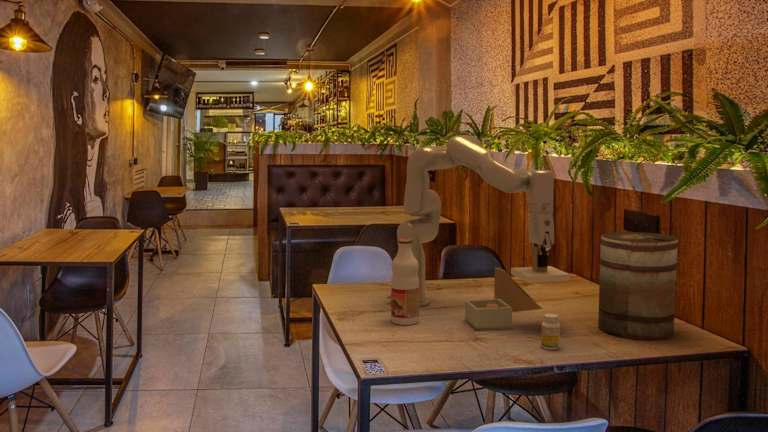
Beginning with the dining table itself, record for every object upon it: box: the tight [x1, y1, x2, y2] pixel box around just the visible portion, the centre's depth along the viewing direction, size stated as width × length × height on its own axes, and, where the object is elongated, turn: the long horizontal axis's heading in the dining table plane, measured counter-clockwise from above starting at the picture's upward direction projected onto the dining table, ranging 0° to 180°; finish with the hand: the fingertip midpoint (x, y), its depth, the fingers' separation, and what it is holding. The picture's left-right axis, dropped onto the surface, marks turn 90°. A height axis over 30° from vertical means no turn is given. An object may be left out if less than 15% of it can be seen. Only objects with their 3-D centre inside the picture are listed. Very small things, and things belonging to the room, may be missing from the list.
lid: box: [510, 246, 571, 284], centre depth 206 cm, size 14×14×10 cm
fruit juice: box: [390, 239, 420, 326], centre depth 214 cm, size 9×9×28 cm
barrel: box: [597, 231, 679, 342], centre depth 203 cm, size 22×22×30 cm
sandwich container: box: [493, 266, 543, 312], centre depth 232 cm, size 9×15×15 cm, turn 107°
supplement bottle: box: [540, 313, 561, 351], centre depth 187 cm, size 5×5×10 cm
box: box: [464, 298, 513, 332], centre depth 211 cm, size 12×12×7 cm
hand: (539, 265), depth 206 cm, fingers closed on lid, 3 cm apart
